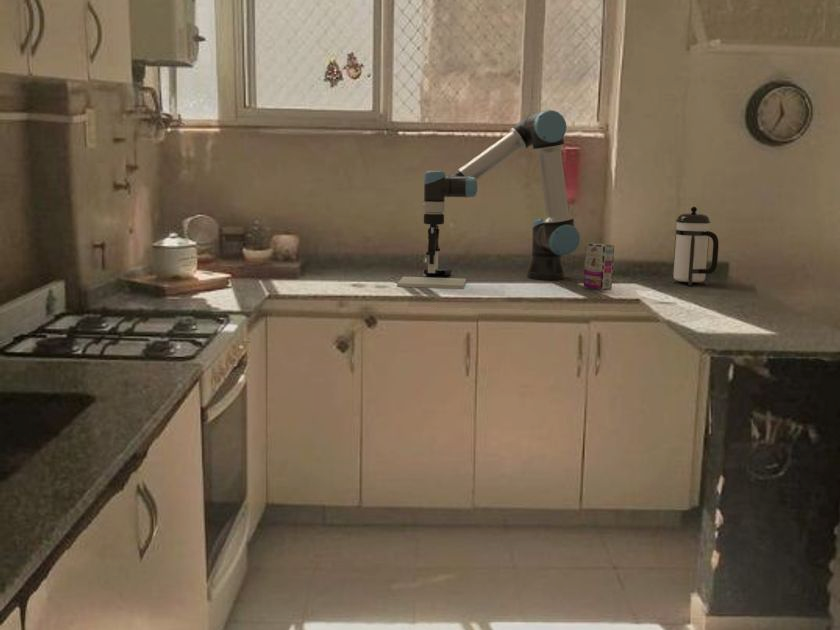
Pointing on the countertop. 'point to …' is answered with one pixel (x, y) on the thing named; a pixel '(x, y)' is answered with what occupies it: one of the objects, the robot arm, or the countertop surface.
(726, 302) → the countertop surface
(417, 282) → the beige flat panel
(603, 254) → the candy bar box
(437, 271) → the flask
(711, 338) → the countertop surface
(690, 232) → the coffee press
